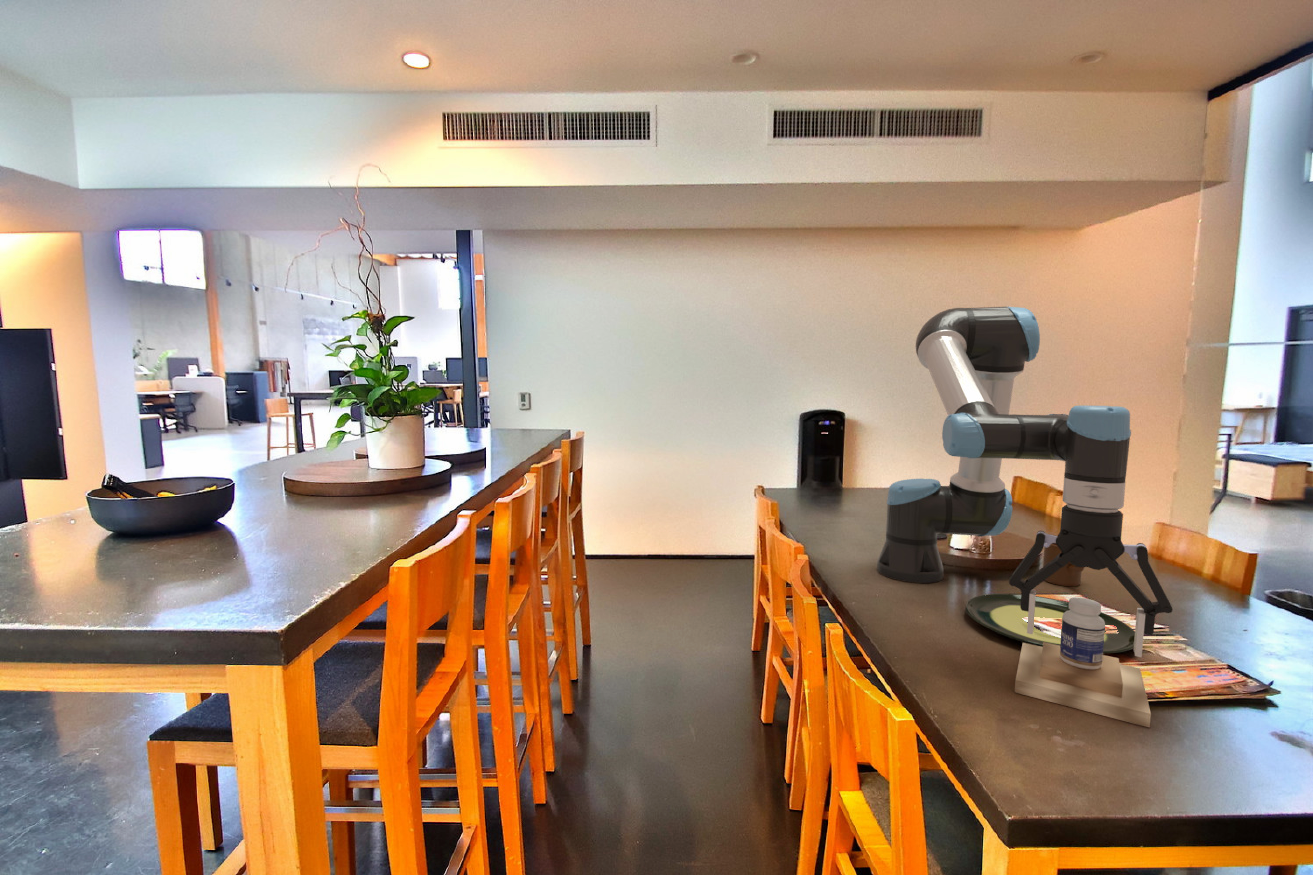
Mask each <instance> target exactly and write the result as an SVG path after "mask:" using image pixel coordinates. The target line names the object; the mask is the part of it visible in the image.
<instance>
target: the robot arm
mask: <svg viewBox="0 0 1313 875" xmlns="http://www.w3.org/2000/svg"><path fill="white" fill-rule="evenodd" d="M1038 323H1039V322H1038V321H1037V318H1036V316H1035V315H1034V313H1033V312H1032V311H1031V310H1030V309H1027V308H1026V307H1019V306H1018V307H1017V306H1016V307H1015V306H990V307H989V306H988V307H985V306H984V307H953V308H949V309H946V310H943V311H941V312H939V313H936V314H935V315H934V316H933V317H930V318H929V319H928V321H926V322H925V324H923V325H922V327H921V329H920V330H919V332H918V334H917V337H916V338H915V339H916V340H915V353H916V356H917V358H918V362H920V364H921V365H922V366H923V367H925V368H926V369H928V371H929V373H930V376H931V378H932V380H933V383H934V385H935V388H936V391H937V392H938V395H939V397H940V400H941V403H942V404H943V407H944V409H945V412H946V414H947V416H946V418H945V419H944V421H943V425H942V432H941V433H942V434H941V437H942V438H941V439H942V442H943V443H942V446H943V449H944V452H946V453H947V455H949V456H951V457H958V458H959V463H958V471H957V472H956V473H954V474H953V475H951V476H950V479H949V485H942V484H941V483H940V482H941V481H939V480H938V479H935V478H910V479H908V478H907V479H903V480H902V479H901V480H898V481H895V482H893V483H891V484H890V485H889V488H888V491H887V493H888V494H887V499H886V504H887V505H886V508H887V509H886V526H885V527H886V531H885V541H884V544H883V546H882V549H881V551H880V554H879V556H878V559H877V564H876V570H877V572H878V574H881V575H882V576H885V577H887V578H890V579H893V580H897V581H902V582H908V583H917V584H918V583H919V584H920V583H921V584H928V583H929V584H930V583H931V584H932V583H937V582H940V581H942V580H943V578H944V571H945V570H944V565H943V563H942V558H941V555H940V552H939V548H938V535H939V534H940V535H941V534H943V535H961V536H976V537H993V536H998V535H1000V534H1002V533H1003V532H1005V530H1006V529H1007V528H1008V527H1009V524H1010V523H1011V518H1012V515H1013V508H1014V507H1013V506H1012V504H1013V497H1012V493H1010V491H1009V490H1008V489H1007V488H1006V484H1005V482H1004V481H1003V480H1002V479H1001V477H1000V472H1001V466H1002V462H1003V461H1002V460H1003V459H1008V460H1009V459H1016V460H1038V461H1040V460H1042V461H1043V460H1044V461H1062V462H1064V464H1065V465H1064V473H1063V474H1064V476H1063V488H1062V489H1063V490H1062V501H1063V503H1065V505H1063V506H1062V507H1061V515H1060V529H1059V530H1060V531H1059V533H1058V535H1055V534H1050V533H1046V531H1044V530H1038V531H1036V534H1035V535H1036V536H1035V541H1034V543H1033V546H1031V548H1030V549H1029V551H1028V552H1027V553H1026V555H1025V556H1024V558H1023V559H1022V561H1021V562H1020V563H1019V564H1018V566H1017V567H1016V568H1015V570H1014V571H1013V573H1012V574H1011V576H1010V577H1009V579H1008V580H1009V581H1008V584H1009V585H1010V586H1011V587H1015V588H1017V589H1019V591H1020V592H1021V606H1020V607H1021V610H1022V611H1028V626H1027V633H1028V634H1033V628H1034V613H1035V599H1036V596H1037V595H1036V594H1037V589H1035V588H1036V587H1038V586H1039V585H1040V584H1042V583H1043V582H1044V581H1045V580H1046V579H1047V578H1048V577H1050V576H1051V575H1052V574H1054V573H1055V572H1056V571H1058V570H1059V569H1060V568H1062V567H1064V566H1065V565H1067V564H1068V563H1069V562H1070V563H1071V564H1073V565H1075V567H1084V568H1090V569H1092V570H1096V571H1101V570H1104V569H1107V570H1108V571H1109V572H1110V573H1111V574H1112V576H1114V577H1115V578H1116V579H1117V580H1118V581H1119V583H1120V584H1121V585H1122V586H1123V587H1124V588H1125V590H1126V591H1127V592H1128V593H1129V594H1130V596H1131V597H1132V598H1133V599H1134V600H1135V601H1136V603H1137V604H1138V605H1139V606H1140V607H1137V608H1136V616H1135V618H1136V619H1135V628H1134V629H1135V630H1134V631H1135V639H1134V648H1133V652H1134V653H1133V654H1134V657H1138V658H1143V657H1142V656H1143V648H1144V647H1143V645H1144V635H1148V636H1152V635H1153V634H1154V631H1155V620H1156V616H1157V614H1161V613H1165V614H1171V613H1172V612H1173V606H1172V604H1171V601H1170V600H1169V598H1168V596H1167V595H1166V593H1165V591H1164V589H1163V587H1162V585H1161V583H1160V581H1159V580H1158V577H1157V575H1156V573H1155V571H1154V569H1153V568H1152V566H1151V564H1150V562H1149V551H1148V549H1147V546H1146V544H1144V543H1143V542H1138V543H1136V544H1124V543H1123V542H1122V531H1123V518H1124V514H1123V513H1122V511H1121V510H1120V509H1122V508H1124V506H1125V493H1126V477H1127V470H1128V469H1127V468H1128V462H1129V461H1128V458H1129V449H1130V440H1131V439H1130V438H1131V437H1132V436H1131V435H1132V430H1131V412H1130V410H1128V409H1127V408H1126V407H1124V406H1114V405H1112V406H1111V405H1086V404H1085V405H1082V404H1081V405H1075V406H1072V407H1071V408H1070V410H1069V413H1068V414H1066V413H1050V414H1010V408H1011V403H1012V402H1011V401H1012V394H1013V388H1014V382H1015V378H1016V377H1017V376H1018V375H1020V374H1021V373H1023V372H1024V370H1025V363H1029V362H1031V361H1034V359H1035V358H1036V357H1037V354H1038V353H1039V350H1040V343H1041V337H1040V336H1041V334H1040V326H1039V324H1038ZM1052 543H1056V544H1057V546H1058V547H1059V549H1060V550H1061V551H1062V552H1061V553H1060V554H1059V555H1057V556H1056V557H1055V558H1054V559H1053V560H1052V561H1050V562H1049V563H1048V564H1046V565H1045V566H1044V567H1043V566H1042V567H1041V568H1040V569H1038V570H1037V571H1036V572H1034V573H1033V574H1032V575H1031V576H1029V577H1028V578H1027V579H1026V580H1025V579H1023V578H1024V576H1025V575H1026V573H1027V572H1028V571H1029V570H1030V569H1031V566H1032V565H1033V564H1034V563H1035V561H1036V560H1037V559H1038V557H1039V556H1040V554H1041V553H1042V552H1043V550H1044V548H1047V547H1049V546H1050V544H1052ZM1124 553H1126V554H1128V555H1129V558H1130V559H1132V560H1134V561H1137V564H1138V566H1139V568H1140V570H1141V572H1142V574H1143V576H1144V579H1145V581H1146V582H1147V584H1148V585H1149V587H1150V589H1151V591H1152V593H1153V595H1154V597H1155V599H1156V601H1151V600H1150V599H1149V597H1148V596H1147V595H1146V594H1145V592H1143V590H1142V589H1141V587H1139V586H1138V584H1137V583H1136V582H1135V581H1134V580H1133V579H1132V578H1131V576H1130V575H1128V573H1127V572H1126V571H1125V570H1124V569H1123V567H1122V566H1121V565H1120V563H1119V562H1118V561H1117V559H1119V558H1121V556H1122V555H1124Z"/></svg>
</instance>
